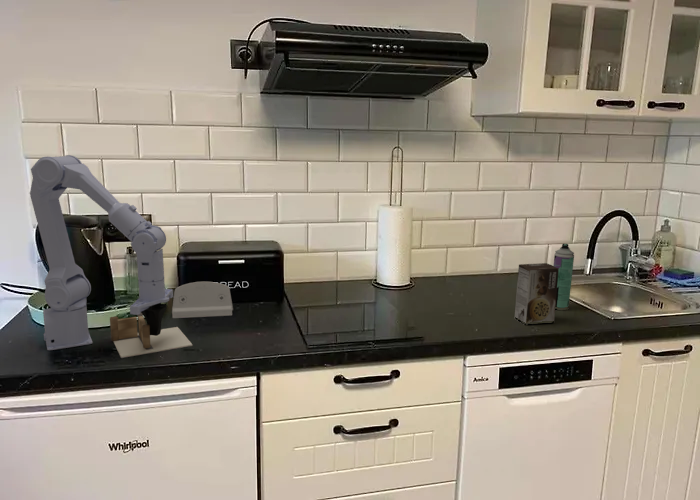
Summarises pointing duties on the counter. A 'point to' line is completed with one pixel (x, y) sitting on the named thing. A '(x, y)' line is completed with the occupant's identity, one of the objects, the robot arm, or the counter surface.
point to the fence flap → (144, 331)
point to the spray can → (563, 275)
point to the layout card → (153, 343)
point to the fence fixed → (123, 328)
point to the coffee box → (536, 292)
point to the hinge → (202, 300)
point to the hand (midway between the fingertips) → (154, 334)
